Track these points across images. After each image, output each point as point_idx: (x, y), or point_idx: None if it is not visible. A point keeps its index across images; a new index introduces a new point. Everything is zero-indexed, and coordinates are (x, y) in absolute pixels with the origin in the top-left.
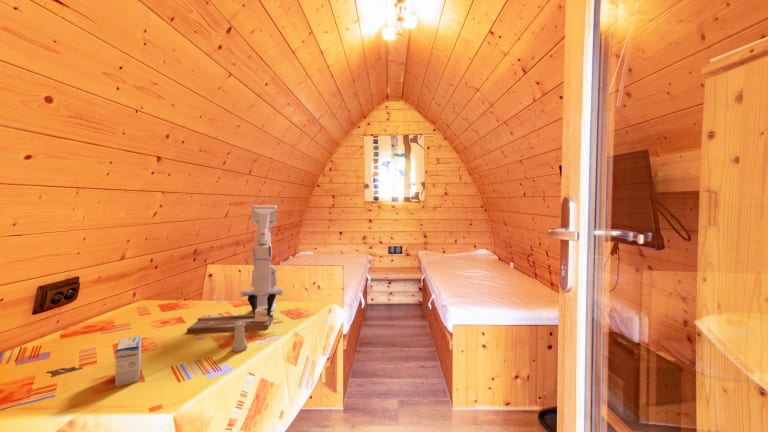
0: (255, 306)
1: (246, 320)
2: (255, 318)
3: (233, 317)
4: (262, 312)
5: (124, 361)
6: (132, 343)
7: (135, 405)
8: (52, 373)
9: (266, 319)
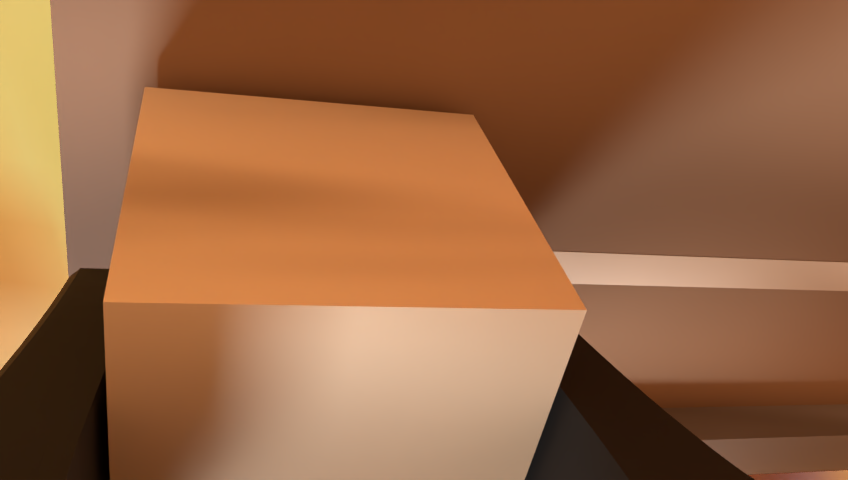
0: None
1: (636, 297)
2: (482, 161)
3: (845, 425)
4: (287, 255)
5: None
6: None
7: None
8: None
9: (145, 113)
